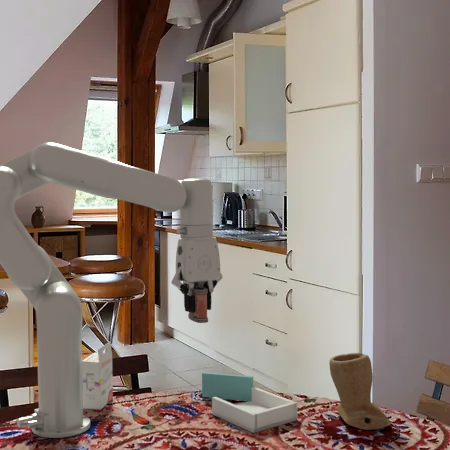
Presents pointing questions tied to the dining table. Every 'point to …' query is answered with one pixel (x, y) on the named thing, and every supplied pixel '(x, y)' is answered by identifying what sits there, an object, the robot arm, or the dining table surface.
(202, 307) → the lighter
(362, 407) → the clay boot vessel
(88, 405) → the ink cartridge box
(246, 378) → the box door
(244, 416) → the box
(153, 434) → the dining table surface
